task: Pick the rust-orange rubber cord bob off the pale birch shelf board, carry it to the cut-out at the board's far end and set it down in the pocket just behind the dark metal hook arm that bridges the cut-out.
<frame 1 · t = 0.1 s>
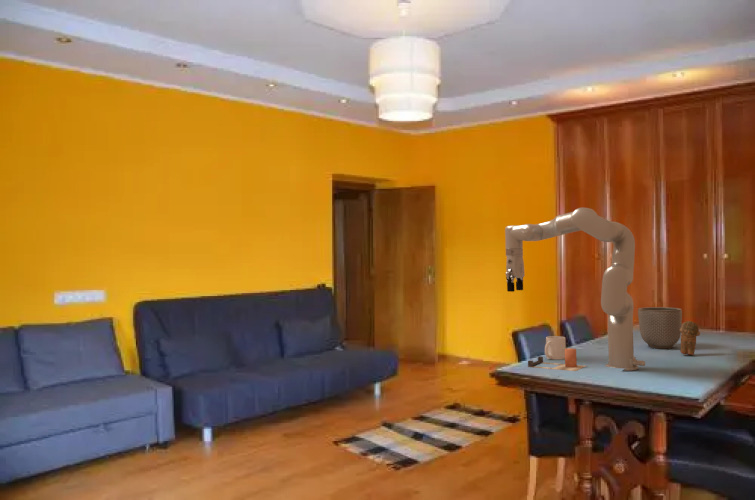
hand: (515, 290, 277), 31 cm above the table, fingers open, 9 cm apart
mug: (553, 361, 272), on the table
planter: (660, 348, 301), on the table
shelf board: (556, 369, 252), on the table
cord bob: (570, 366, 251), point 1 cm above the table, touching shelf board
figurine: (690, 355, 278), on the table
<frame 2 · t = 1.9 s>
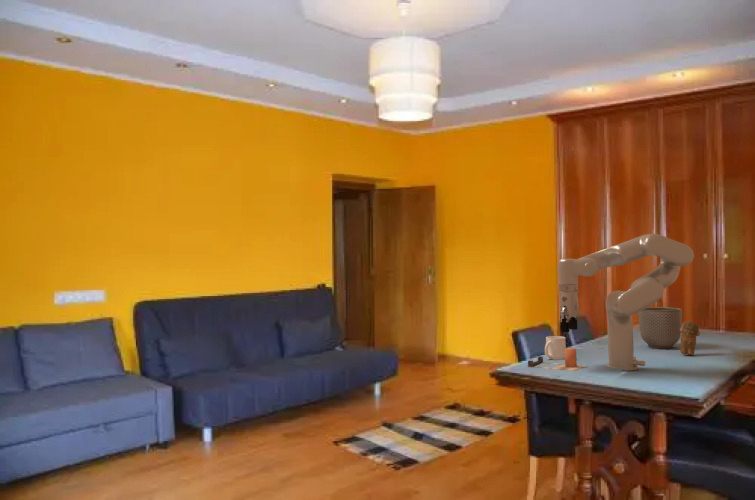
hand: (569, 330, 251), 16 cm above the table, fingers open, 9 cm apart
nothing on the table moved.
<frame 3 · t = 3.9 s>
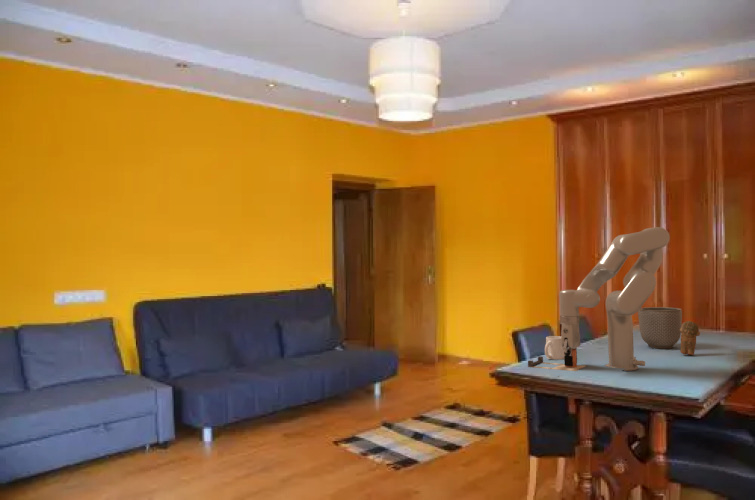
hand: (570, 364, 251), 2 cm above the table, fingers closed on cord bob, 4 cm apart
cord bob: (570, 366, 251), point 1 cm above the table, touching gripper, shelf board
everything else where it was.
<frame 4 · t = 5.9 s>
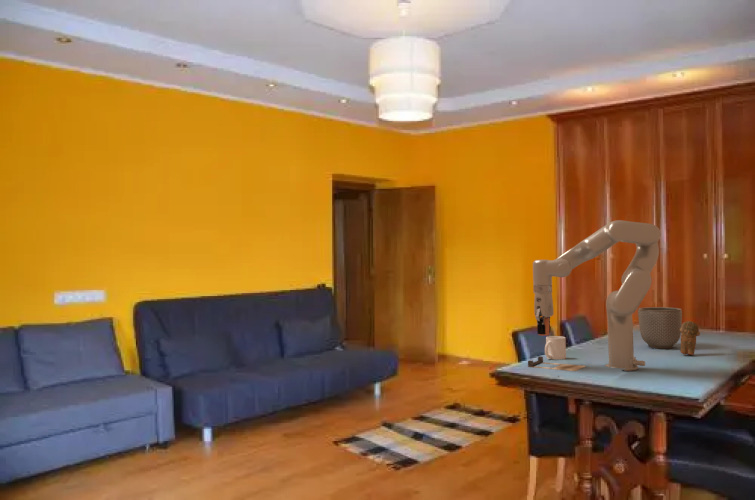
hand: (543, 332, 255), 15 cm above the table, fingers closed on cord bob, 4 cm apart
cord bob: (543, 334, 255), point 14 cm above the table, touching gripper
everything else where it was.
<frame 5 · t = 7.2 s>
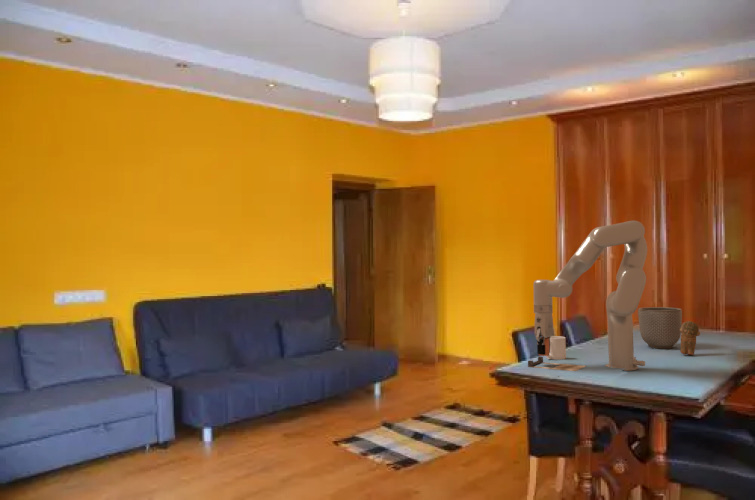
hand: (543, 353, 255), 6 cm above the table, fingers closed on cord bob, 4 cm apart
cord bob: (543, 355, 255), point 5 cm above the table, touching gripper
everything else where it was.
when the fingers open (3 cm above the table, at t = 8.3 s): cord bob drops 2 cm, resting in shelf board.
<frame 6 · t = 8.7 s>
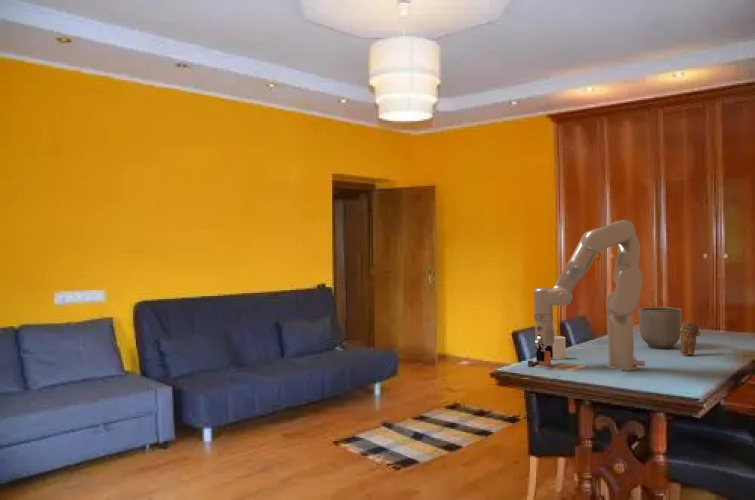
hand: (544, 359, 255), 4 cm above the table, fingers open, 9 cm apart
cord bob: (545, 368, 255), resting in shelf board
everything else where it was.
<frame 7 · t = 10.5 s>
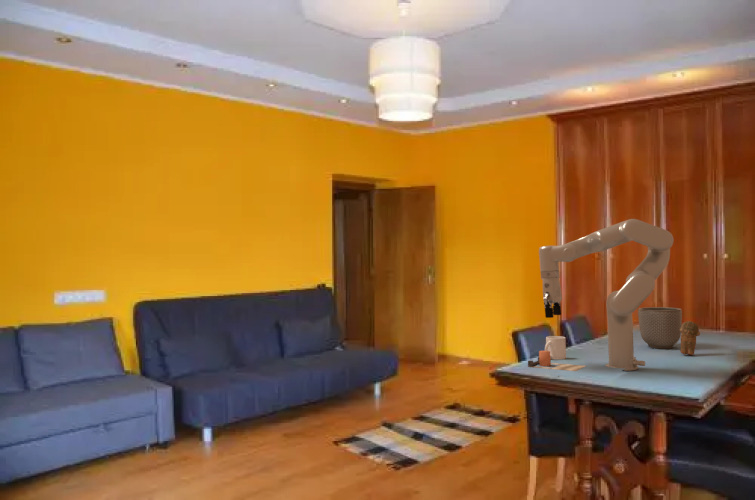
hand: (553, 316, 256), 21 cm above the table, fingers open, 9 cm apart
nothing on the table moved.
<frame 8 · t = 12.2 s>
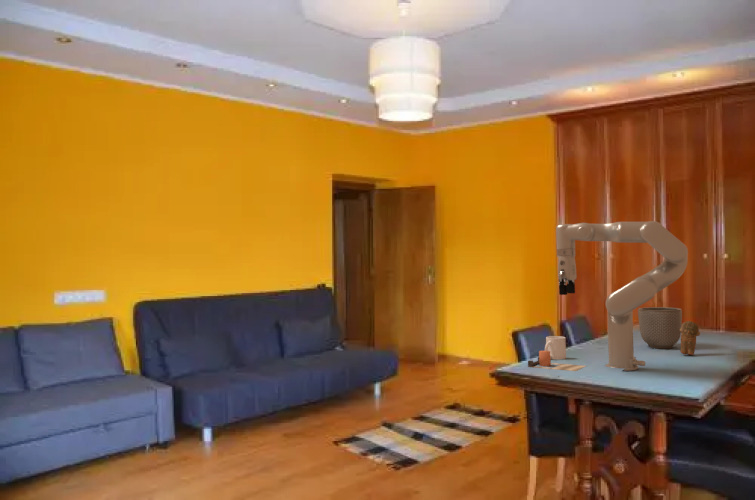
hand: (567, 294, 259), 30 cm above the table, fingers open, 9 cm apart
nothing on the table moved.
at the end: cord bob inside the target area on the shelf board (1.2 cm from its centre), point 0.0 cm above the shelf board's base; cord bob tilted 0°; the gripper is holding nothing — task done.
